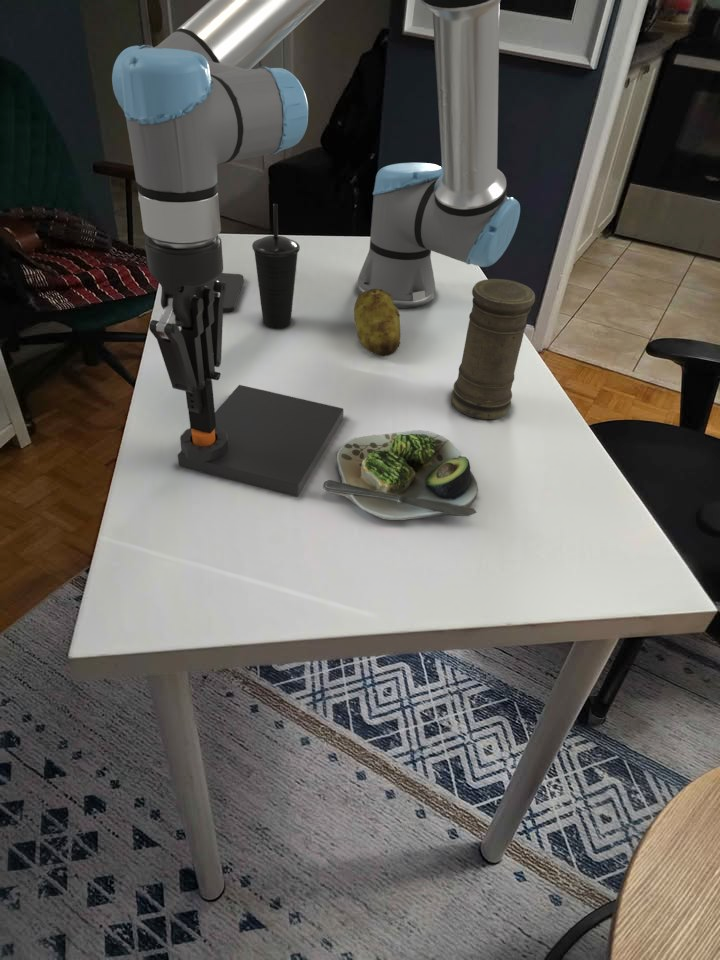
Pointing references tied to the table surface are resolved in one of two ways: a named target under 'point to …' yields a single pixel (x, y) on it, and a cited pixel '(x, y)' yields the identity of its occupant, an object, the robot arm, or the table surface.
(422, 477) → the salad plate
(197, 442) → the button
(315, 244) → the table surface
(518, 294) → the container
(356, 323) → the potato
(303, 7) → the robot arm
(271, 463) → the scale
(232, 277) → the phone
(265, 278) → the drinking cup
